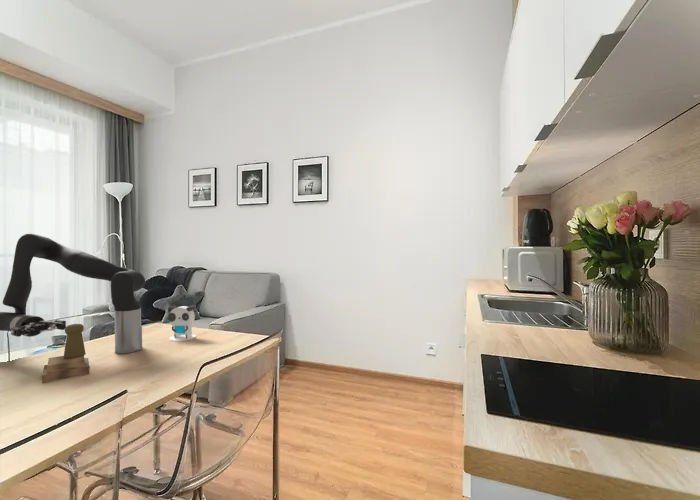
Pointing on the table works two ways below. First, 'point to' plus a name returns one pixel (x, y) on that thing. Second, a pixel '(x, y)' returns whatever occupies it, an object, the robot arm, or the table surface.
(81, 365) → the walnut stand
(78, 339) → the cork
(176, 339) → the panda figurine
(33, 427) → the table surface
